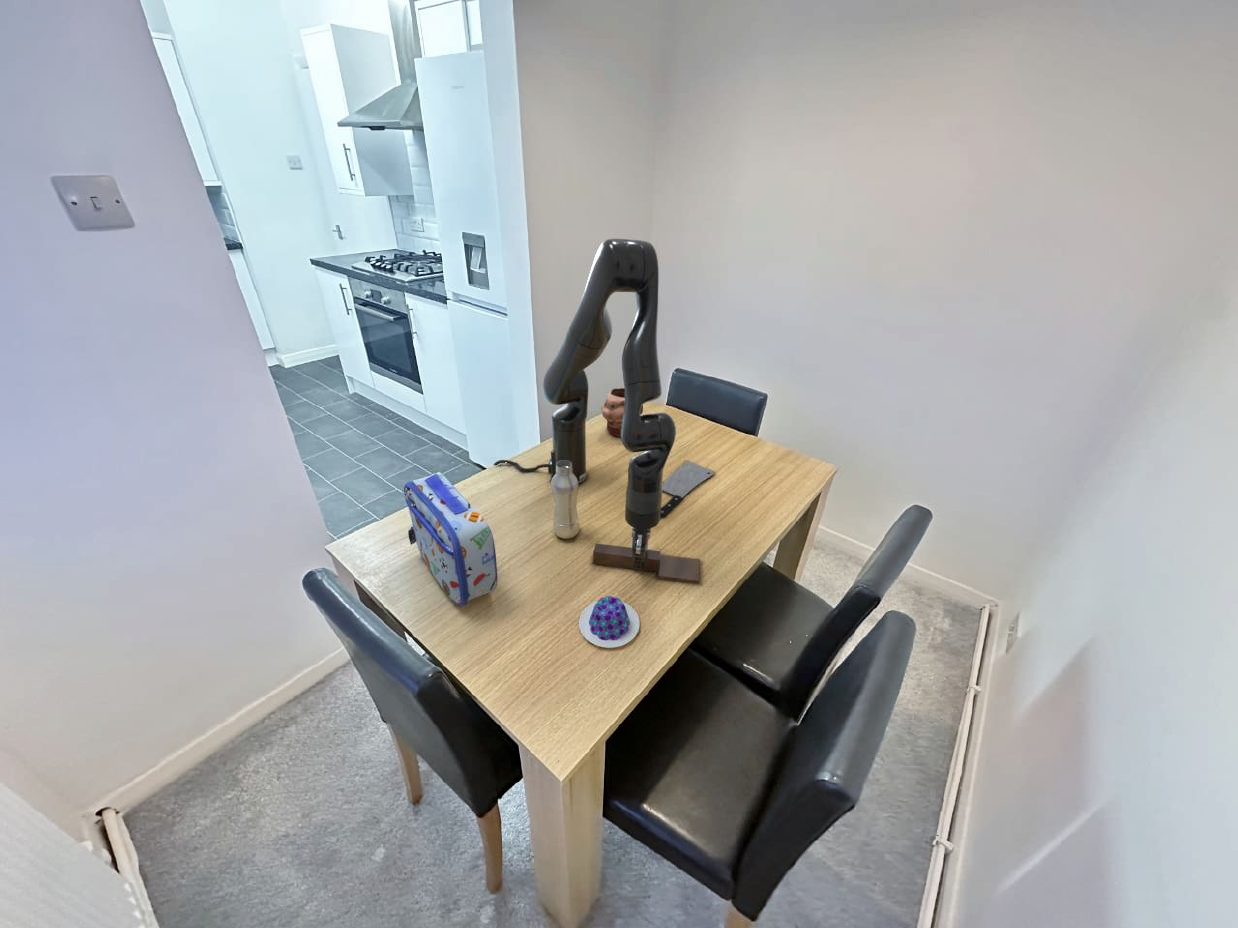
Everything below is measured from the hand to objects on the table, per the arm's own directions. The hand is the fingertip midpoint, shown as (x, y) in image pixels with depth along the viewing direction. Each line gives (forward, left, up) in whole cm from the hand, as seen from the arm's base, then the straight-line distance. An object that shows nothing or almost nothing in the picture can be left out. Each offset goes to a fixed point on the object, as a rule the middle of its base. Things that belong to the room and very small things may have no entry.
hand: (639, 562), depth 112 cm
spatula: (+1, 0, -1) cm, 2 cm away
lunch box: (-40, -9, -1) cm, 41 cm away
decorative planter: (-13, +66, -1) cm, 67 cm away
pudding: (-4, -18, -1) cm, 18 cm away
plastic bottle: (-19, +8, -1) cm, 21 cm away
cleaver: (+7, +33, -1) cm, 34 cm away
